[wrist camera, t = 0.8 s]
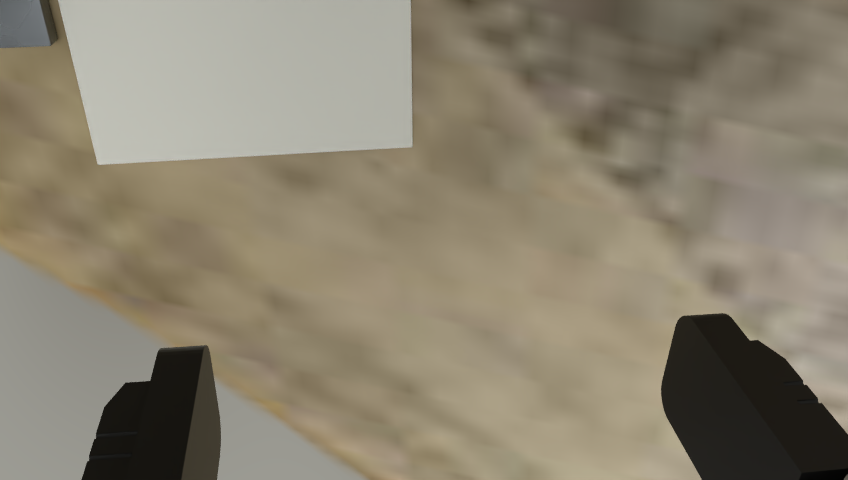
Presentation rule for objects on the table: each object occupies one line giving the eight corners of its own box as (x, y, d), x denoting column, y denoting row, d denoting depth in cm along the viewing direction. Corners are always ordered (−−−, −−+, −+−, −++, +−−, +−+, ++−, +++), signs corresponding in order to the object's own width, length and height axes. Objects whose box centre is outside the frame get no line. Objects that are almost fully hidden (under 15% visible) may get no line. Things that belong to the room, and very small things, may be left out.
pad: (55, -25, 30) (52, -23, 30) (409, -36, 32) (410, -34, 31) (100, 161, 34) (97, 164, 34) (411, 143, 36) (412, 147, 35)
